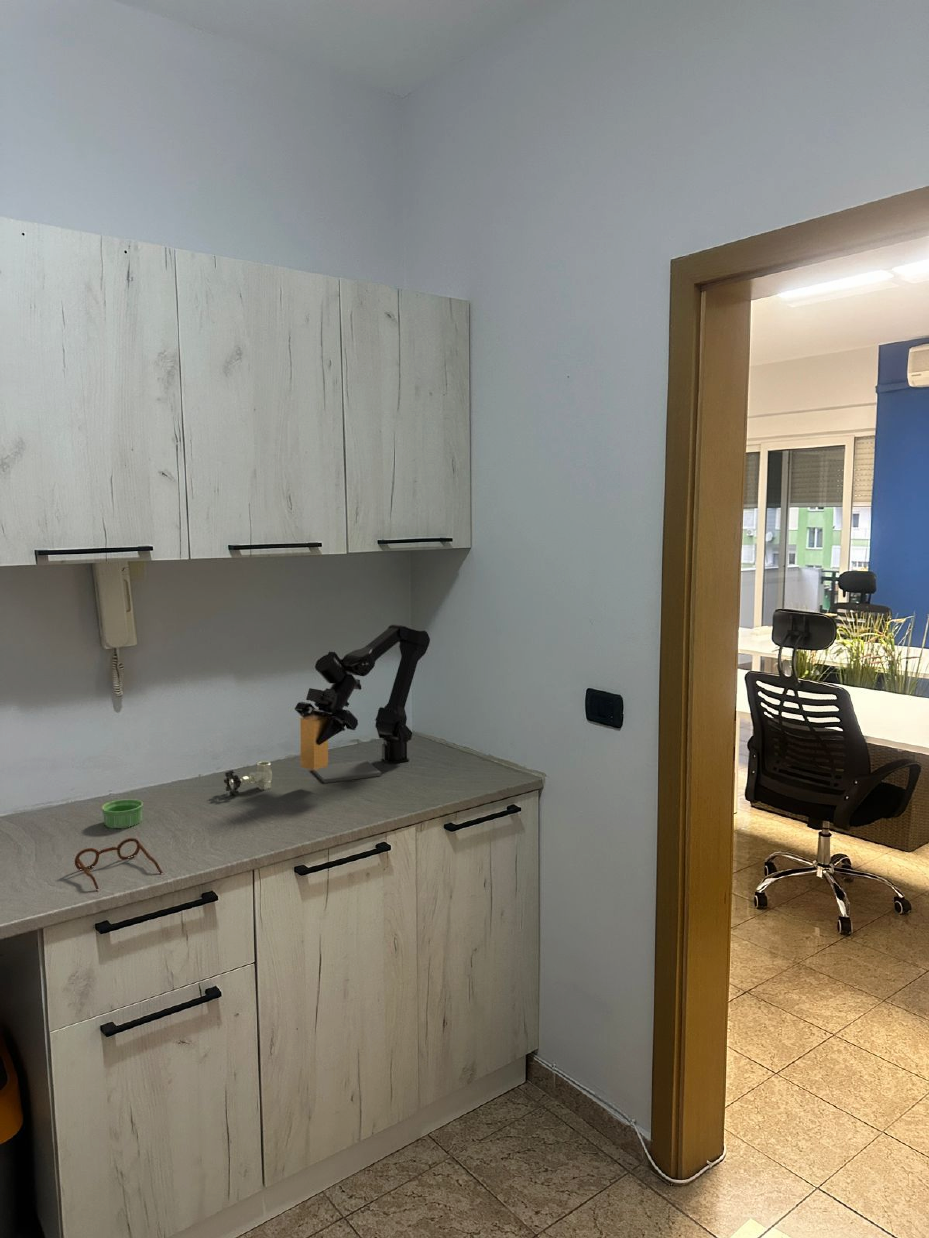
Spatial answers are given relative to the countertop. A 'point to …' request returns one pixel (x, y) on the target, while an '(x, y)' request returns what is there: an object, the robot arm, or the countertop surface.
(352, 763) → the rubber mat
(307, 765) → the wooden block
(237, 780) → the valve
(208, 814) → the countertop surface
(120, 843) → the glasses
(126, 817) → the ramekin
